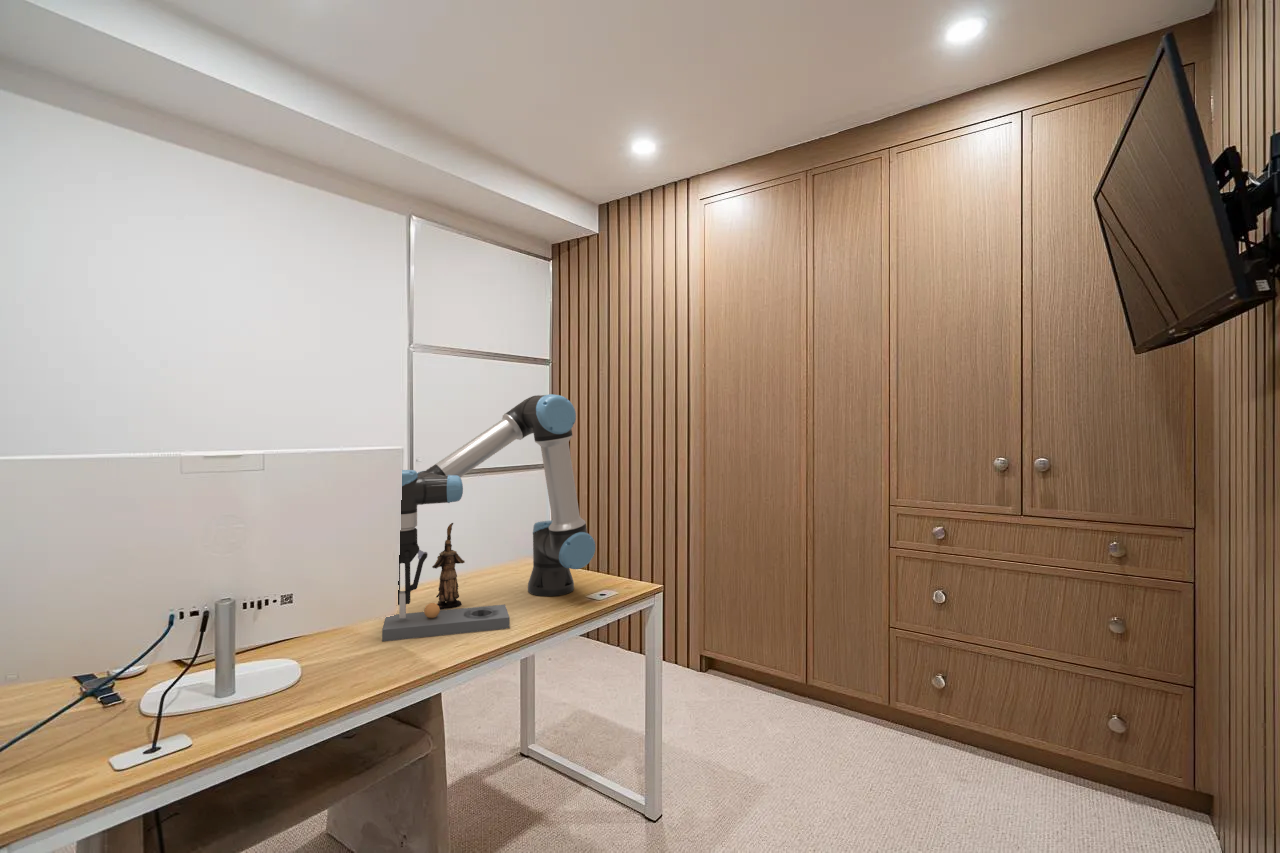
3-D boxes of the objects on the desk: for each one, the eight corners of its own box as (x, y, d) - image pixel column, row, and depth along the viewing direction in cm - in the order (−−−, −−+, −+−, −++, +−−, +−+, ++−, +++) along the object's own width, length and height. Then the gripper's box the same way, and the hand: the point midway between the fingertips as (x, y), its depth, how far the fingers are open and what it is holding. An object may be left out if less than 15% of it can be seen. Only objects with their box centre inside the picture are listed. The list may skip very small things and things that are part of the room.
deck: (505, 614, 178) (505, 604, 178) (509, 628, 166) (509, 617, 166) (386, 626, 168) (386, 615, 168) (382, 641, 156) (382, 629, 156)
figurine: (466, 604, 187) (466, 523, 186) (438, 612, 179) (438, 527, 179) (454, 600, 191) (454, 520, 190) (426, 608, 183) (426, 525, 183)
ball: (439, 614, 168) (439, 600, 168) (439, 619, 164) (439, 604, 164) (424, 616, 167) (424, 601, 167) (424, 620, 163) (423, 605, 163)
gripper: (428, 524, 169) (428, 609, 169) (377, 527, 165) (377, 614, 165) (427, 529, 161) (428, 618, 162) (374, 532, 157) (374, 623, 158)
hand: (402, 616), depth 163 cm, fingers closed
